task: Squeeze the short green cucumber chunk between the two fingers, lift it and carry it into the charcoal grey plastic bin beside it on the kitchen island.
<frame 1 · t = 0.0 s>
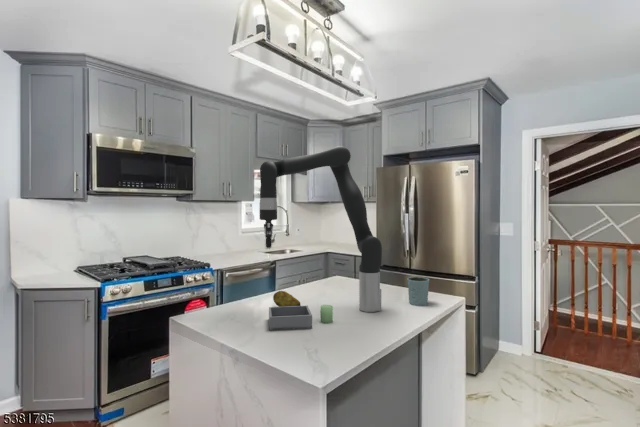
hand: (268, 246, 155), 29 cm above the table, tool pointing down, fingers open, 8 cm apart
bin: (289, 323, 143), on the table
cucumber chunk: (326, 321, 146), on the table
teal cup: (418, 304, 173), on the table
potato: (286, 310, 163), on the table
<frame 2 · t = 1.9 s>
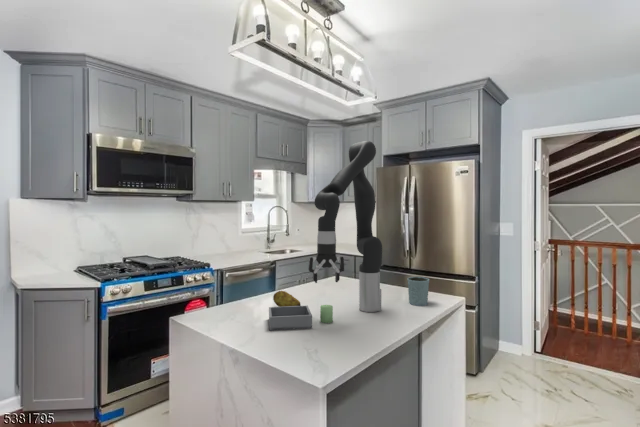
hand: (326, 282, 146), 16 cm above the table, tool pointing down, fingers open, 8 cm apart
nothing on the table moved.
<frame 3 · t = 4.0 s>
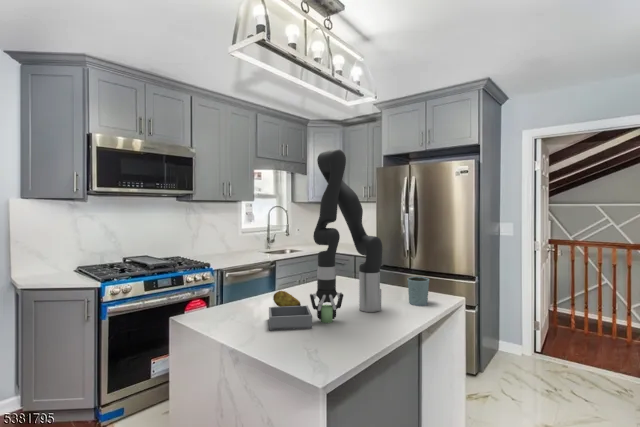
hand: (326, 318, 146), 1 cm above the table, tool pointing down, fingers closed on cucumber chunk, 5 cm apart
cucumber chunk: (326, 321, 146), on the table, touching gripper
everything else where it was.
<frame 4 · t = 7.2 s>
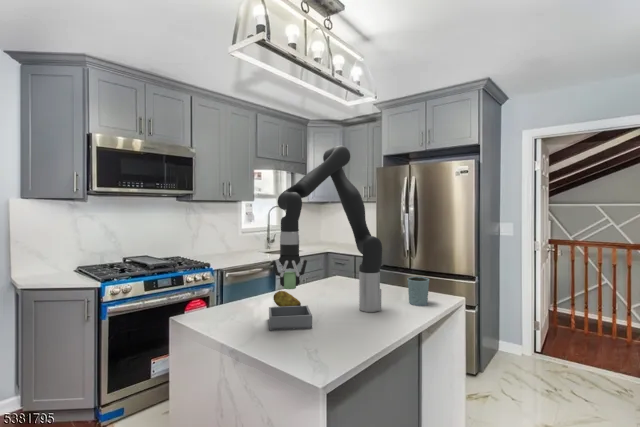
hand: (289, 285, 143), 15 cm above the table, tool pointing down, fingers closed on cucumber chunk, 5 cm apart
cucumber chunk: (289, 287, 143), point 14 cm above the table, touching gripper
everything else where it was.
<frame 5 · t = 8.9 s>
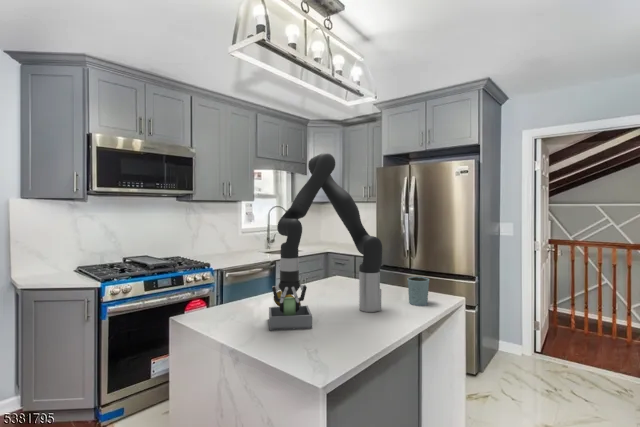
hand: (289, 311, 143), 5 cm above the table, tool pointing down, fingers closed on cucumber chunk, 5 cm apart
cucumber chunk: (289, 313, 143), point 4 cm above the table, touching gripper
everything else where it was.
when the fingers open (3 cm above the table, at t = 10.1 s): cucumber chunk drops 1 cm, resting on bin.
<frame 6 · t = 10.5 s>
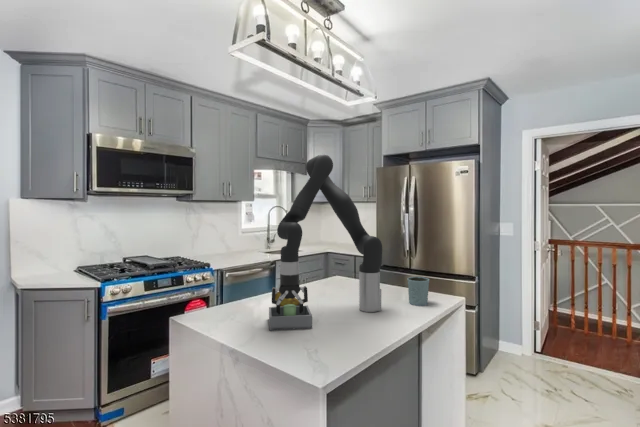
hand: (289, 313, 143), 4 cm above the table, tool pointing down, fingers open, 8 cm apart
cucumber chunk: (289, 321, 143), point 1 cm above the table, touching bin
everything else where it was.
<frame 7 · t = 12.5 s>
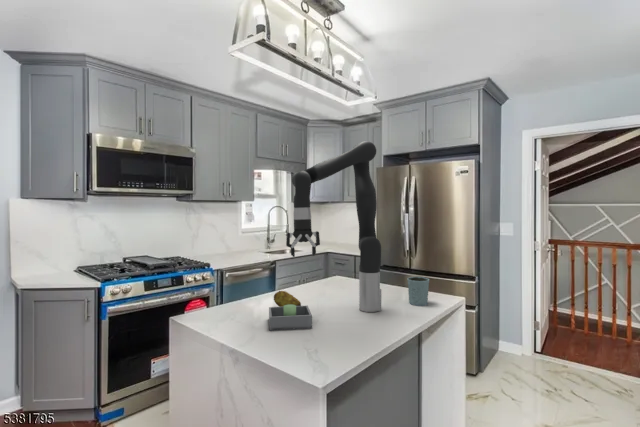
hand: (303, 256, 154), 25 cm above the table, tool pointing down, fingers open, 8 cm apart
nothing on the table moved.
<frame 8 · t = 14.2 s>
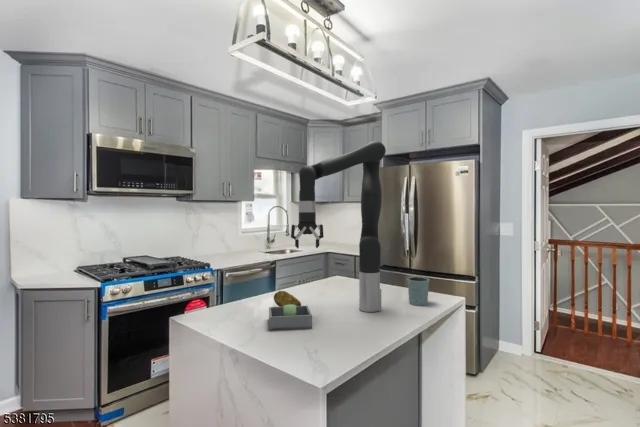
hand: (307, 248, 160), 28 cm above the table, tool pointing down, fingers open, 8 cm apart
nothing on the table moved.
at the end: cucumber chunk inside the target area on the bin (0.1 cm from its centre), point 1.0 cm above the bin's base; the gripper is holding nothing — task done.
